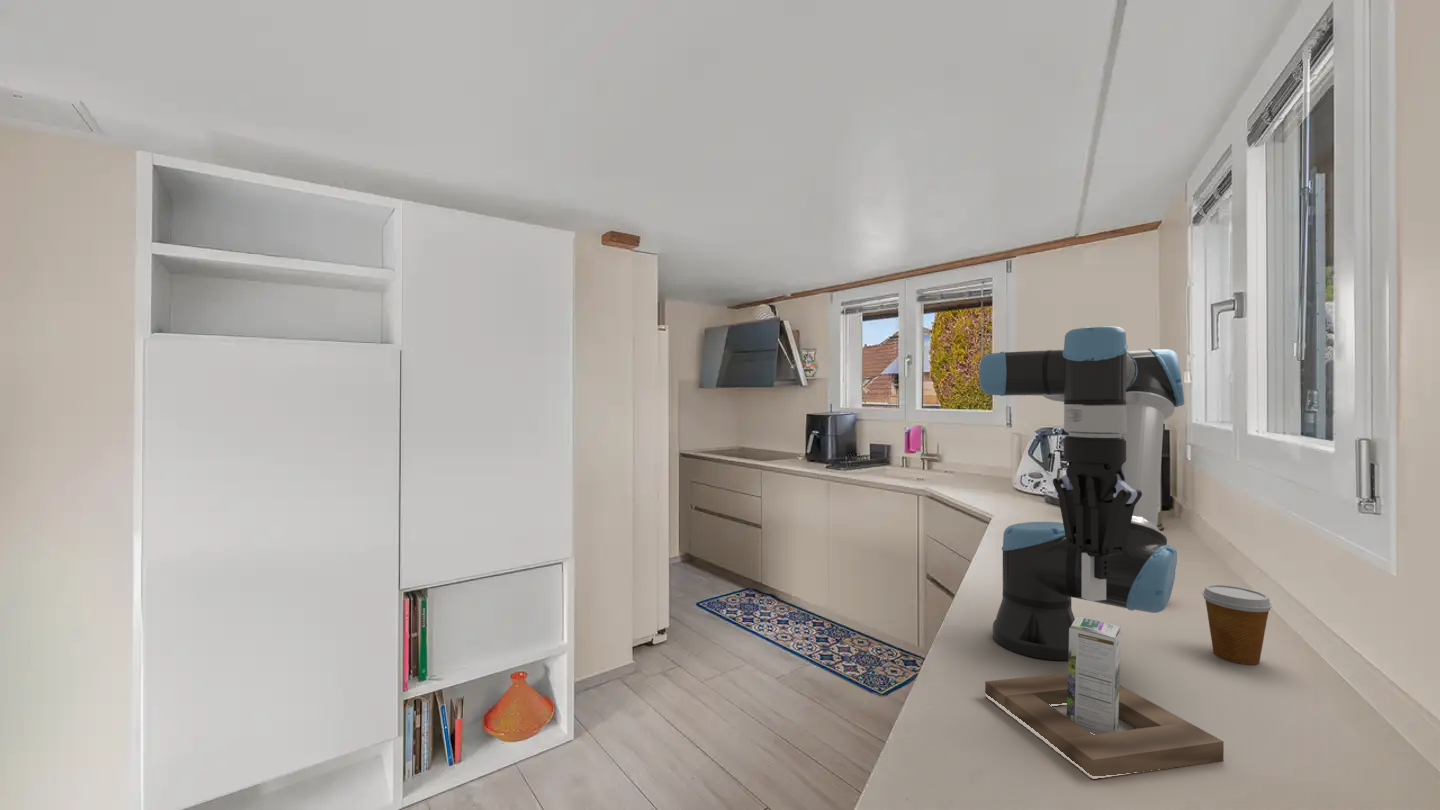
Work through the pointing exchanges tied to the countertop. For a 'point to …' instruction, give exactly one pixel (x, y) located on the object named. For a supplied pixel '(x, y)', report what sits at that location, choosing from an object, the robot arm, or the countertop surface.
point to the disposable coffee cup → (1236, 622)
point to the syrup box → (1094, 675)
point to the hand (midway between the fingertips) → (1093, 598)
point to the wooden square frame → (1113, 753)
